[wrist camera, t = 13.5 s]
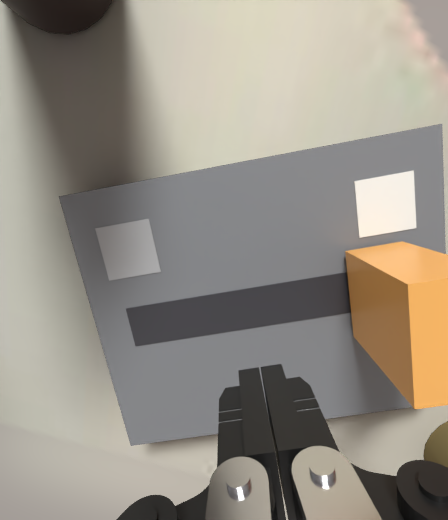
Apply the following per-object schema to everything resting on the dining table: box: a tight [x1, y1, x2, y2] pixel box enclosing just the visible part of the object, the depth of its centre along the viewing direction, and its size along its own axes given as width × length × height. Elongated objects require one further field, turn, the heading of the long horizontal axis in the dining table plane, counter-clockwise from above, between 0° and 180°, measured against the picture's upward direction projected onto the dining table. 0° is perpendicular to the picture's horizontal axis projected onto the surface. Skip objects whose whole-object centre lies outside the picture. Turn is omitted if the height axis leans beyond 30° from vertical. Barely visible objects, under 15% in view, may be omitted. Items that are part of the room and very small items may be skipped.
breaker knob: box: [345, 241, 448, 409], centre depth 14 cm, size 3×5×6 cm, turn 10°
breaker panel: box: [59, 124, 446, 446], centre depth 19 cm, size 20×16×3 cm
